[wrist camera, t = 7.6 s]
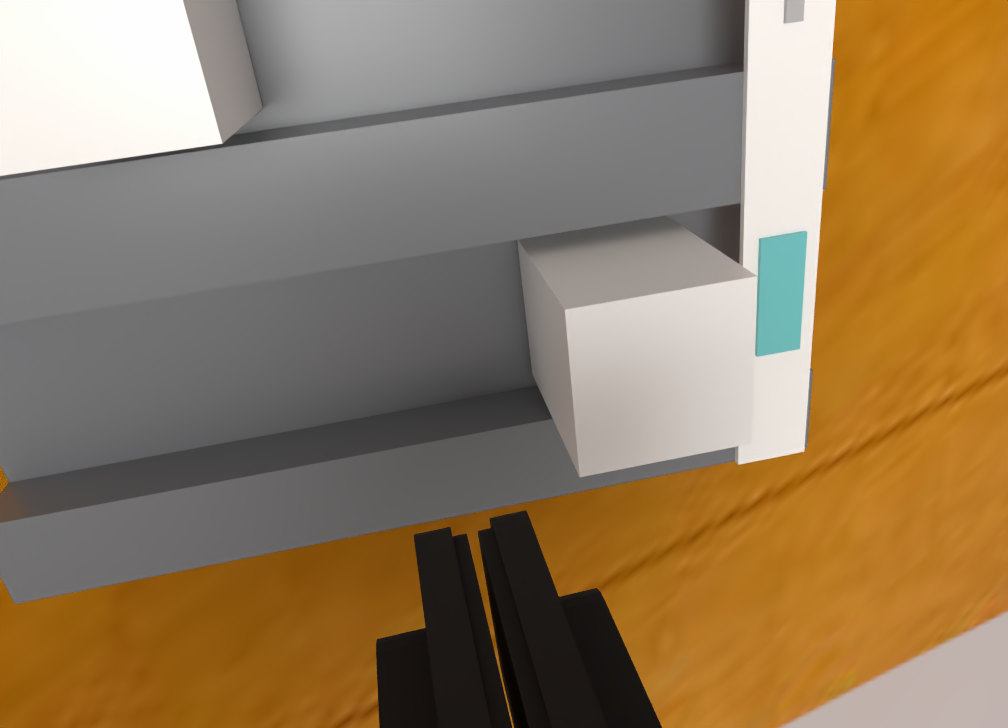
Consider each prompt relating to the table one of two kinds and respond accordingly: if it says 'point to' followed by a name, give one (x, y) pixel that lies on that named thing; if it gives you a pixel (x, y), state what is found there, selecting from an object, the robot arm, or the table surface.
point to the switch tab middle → (119, 79)
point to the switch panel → (384, 273)
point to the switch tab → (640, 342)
